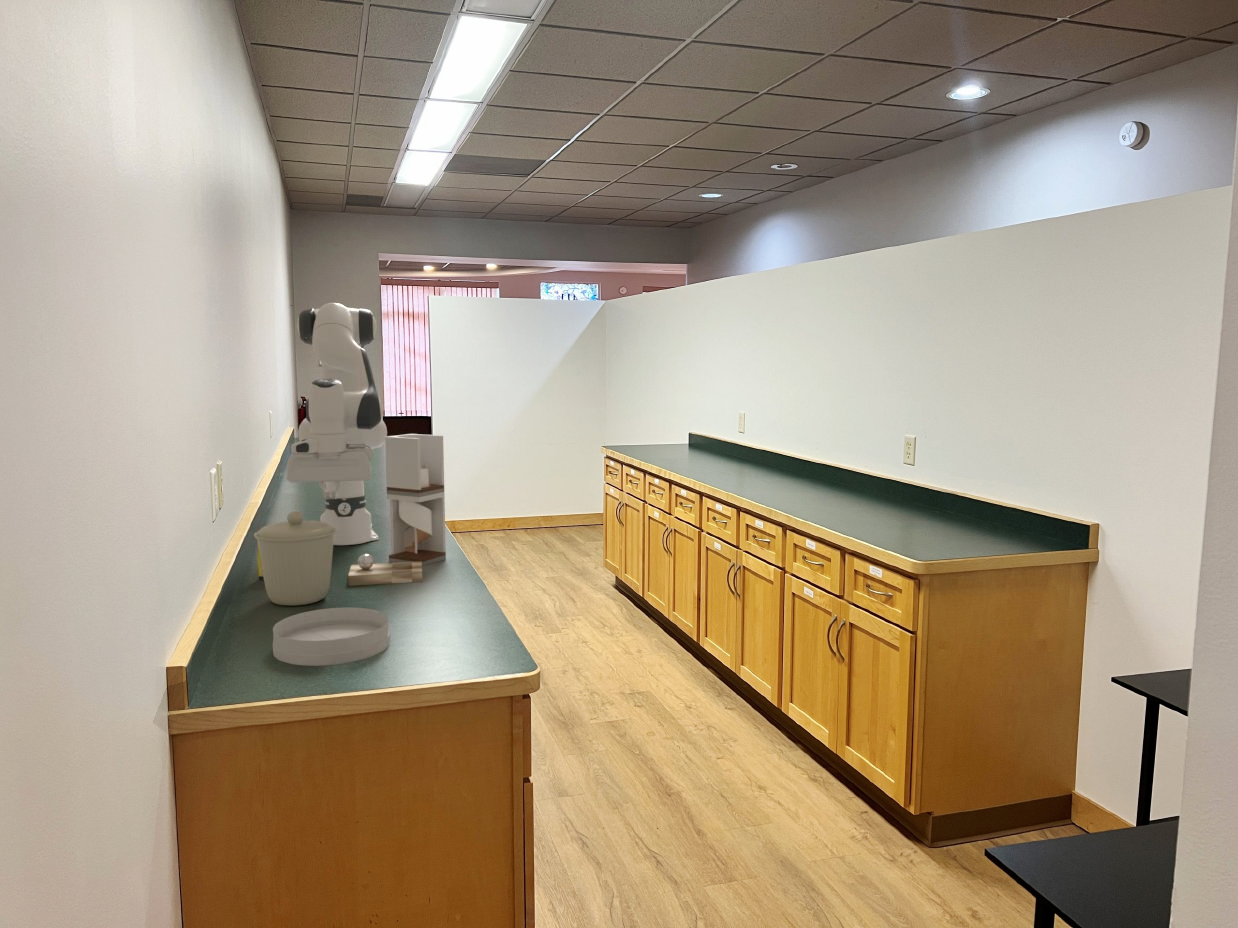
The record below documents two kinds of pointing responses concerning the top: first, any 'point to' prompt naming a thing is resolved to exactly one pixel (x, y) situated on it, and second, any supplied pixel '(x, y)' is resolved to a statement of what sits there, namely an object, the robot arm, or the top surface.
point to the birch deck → (386, 573)
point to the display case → (416, 497)
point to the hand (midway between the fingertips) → (330, 498)
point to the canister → (296, 559)
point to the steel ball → (365, 561)
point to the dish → (330, 636)
